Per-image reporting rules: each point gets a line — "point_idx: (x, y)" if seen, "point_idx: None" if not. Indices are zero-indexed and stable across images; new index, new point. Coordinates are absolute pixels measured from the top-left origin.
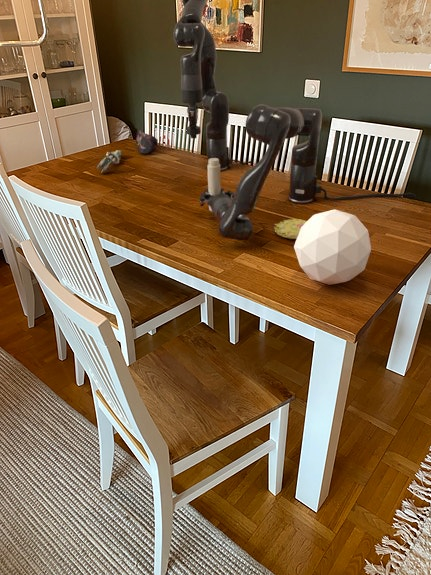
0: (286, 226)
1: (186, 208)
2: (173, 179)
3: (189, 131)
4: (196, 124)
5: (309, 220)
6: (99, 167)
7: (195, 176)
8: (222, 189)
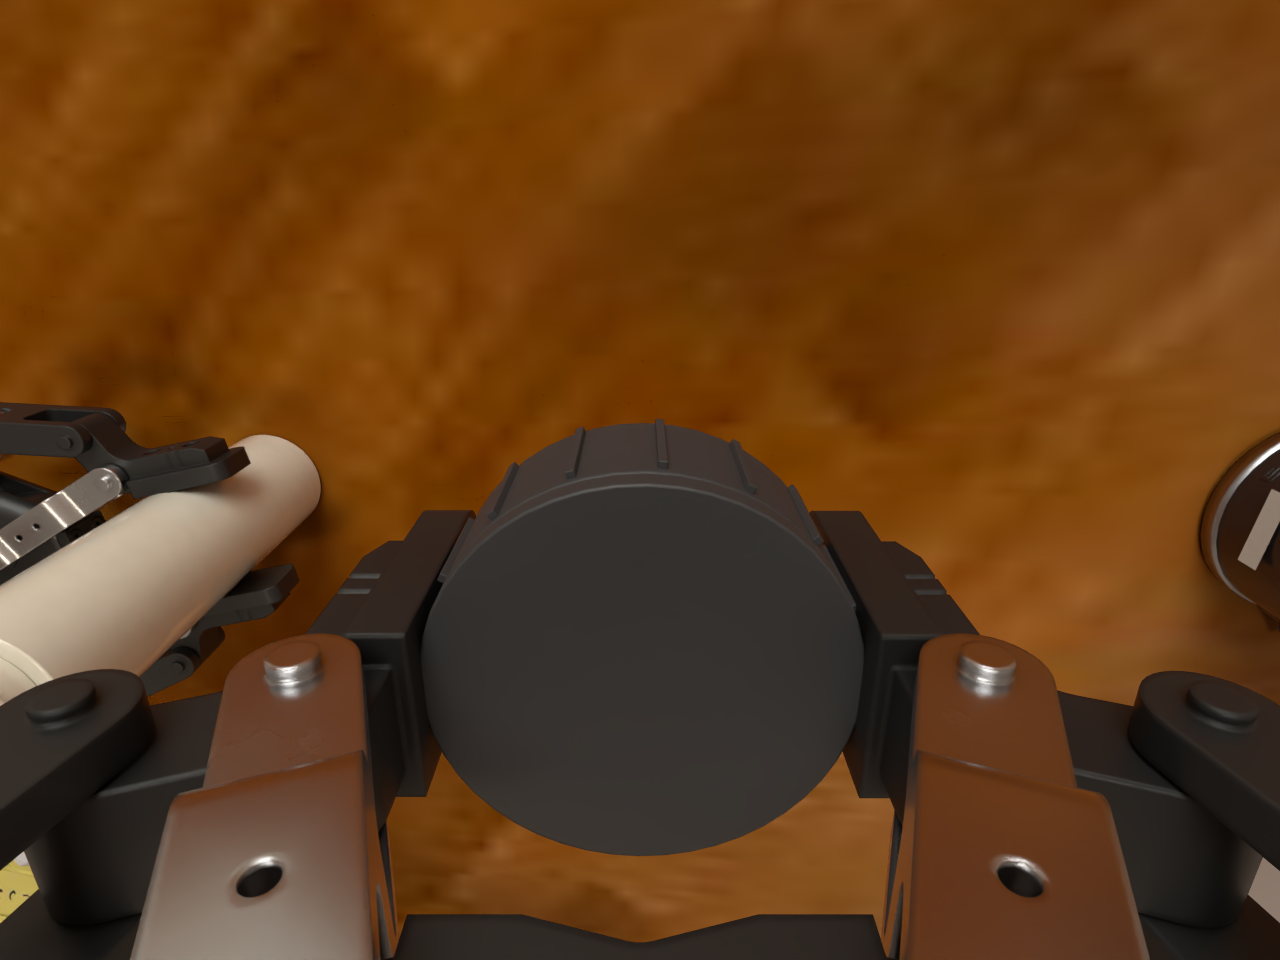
0: (5, 873)
1: (271, 242)
2: (1103, 46)
3: (461, 543)
4: (868, 794)
5: None
6: None
7: (1128, 299)
8: (256, 610)
